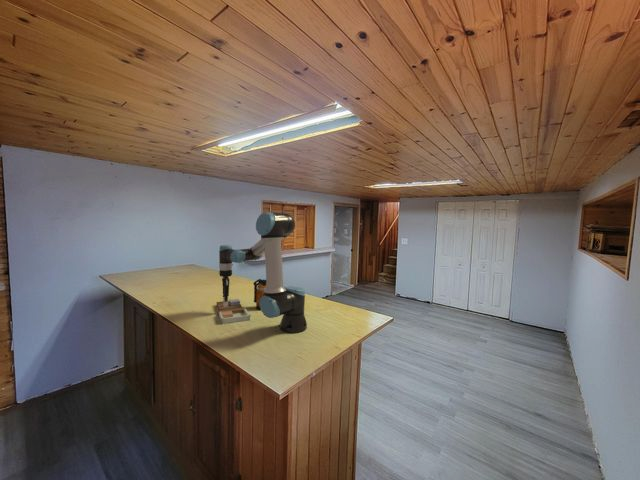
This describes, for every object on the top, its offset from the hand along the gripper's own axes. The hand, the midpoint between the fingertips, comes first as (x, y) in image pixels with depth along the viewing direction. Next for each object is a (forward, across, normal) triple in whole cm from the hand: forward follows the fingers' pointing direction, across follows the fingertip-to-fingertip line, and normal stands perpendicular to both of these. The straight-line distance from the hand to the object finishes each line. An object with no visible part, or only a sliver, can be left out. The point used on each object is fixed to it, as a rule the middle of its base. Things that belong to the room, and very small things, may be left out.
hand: (225, 306), depth 170 cm
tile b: (+2, +8, -7) cm, 11 cm away
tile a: (+4, -9, 0) cm, 10 cm away
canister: (+5, +1, -23) cm, 24 cm away
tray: (+5, -11, -3) cm, 13 cm away
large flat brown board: (+5, +6, -3) cm, 8 cm away
